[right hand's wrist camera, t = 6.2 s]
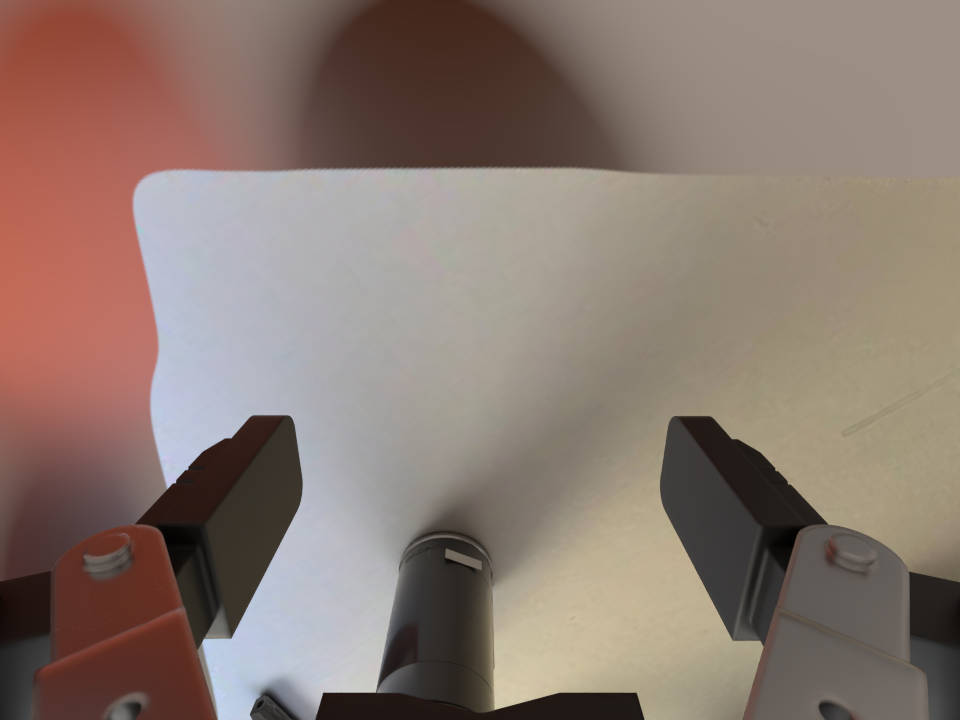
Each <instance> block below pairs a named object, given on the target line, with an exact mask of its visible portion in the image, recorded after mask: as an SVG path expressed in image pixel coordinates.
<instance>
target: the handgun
mask: <svg viewBox="0 0 960 720" xmlns="http://www.w3.org/2000/svg"><path fill="white" fill-rule="evenodd" d="M250 716H251V718H252V720H292V719H291V718H290V717H289V716H288V715H287V714H286V713H284V712H283V711H282V710H281V709H280V708H279V707H278V706H277V705H276V704H275V703H274V702H273V701H272V700H271V699H270V698H269V697H268V696H266V695H265V696H263V697H260V698H258V699H257V700H256V702H255V704H254V706H253V708H252V711H251V713H250Z"/></svg>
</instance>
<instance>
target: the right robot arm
mask: <svg viewBox="0 0 960 720" xmlns="http://www.w3.org/2000/svg"><path fill="white" fill-rule="evenodd" d="M188 468H189V469H188V470H185V471H184V472H183V473H182V475H181V476H180V477H179V478H178V479H177V480H176V483H173V484H172V485H171V486H170V487H169V488H168V489H167V491H166V492H165V493H164V494H163V495H162V496H161V497H160V498H159V499H158V500H157V501H156V502H155V503H154V504H153V505H152V507H151V508H150V509H149V510H148V511H147V512H146V513H145V514H144V515H143V516H142V517H141V518H140V519H139V520H138V521H137V523H136V524H135V525H126V526H120V527H116V528H112V529H109V530H106V531H103V532H100V533H98V534H95V535H93V536H91V537H89V538H87V539H85V540H83V541H81V542H80V543H78V544H77V545H75V546H74V547H72V548H71V549H70V550H68V551H67V552H66V553H65V554H64V555H63V556H62V557H61V558H60V559H59V560H58V561H57V562H56V564H55V565H54V567H53V569H52V571H49V572H44V573H39V574H34V575H30V576H25V577H20V578H15V579H11V580H6V581H1V582H0V720H217V717H216V713H215V710H214V707H213V703H212V700H211V696H210V693H209V689H208V686H207V683H206V679H205V676H204V672H203V669H202V666H201V662H200V659H199V655H198V652H197V650H198V648H199V647H200V645H201V643H202V641H203V640H204V639H231V638H232V636H233V634H234V632H235V630H236V628H237V626H238V624H239V623H240V621H241V619H242V617H243V615H244V613H245V611H246V609H247V607H248V605H249V603H250V601H251V599H252V597H253V595H254V593H255V591H256V590H257V588H258V586H259V584H260V582H261V580H262V578H263V576H264V574H265V572H266V570H267V568H268V566H269V564H270V562H271V560H272V559H273V557H274V555H275V553H276V551H277V549H278V547H279V545H280V543H281V541H282V539H283V537H284V535H285V533H286V531H287V529H288V527H289V526H290V524H291V522H292V520H293V518H294V516H295V514H296V512H297V510H298V508H299V505H300V502H301V497H302V488H303V482H302V473H301V466H300V459H299V452H298V445H297V439H296V432H295V426H294V422H293V419H292V418H291V417H290V416H288V415H254V416H251V417H250V418H249V419H248V420H247V421H246V422H245V424H244V425H243V426H242V427H241V428H240V429H239V430H238V432H237V433H236V434H235V435H234V436H233V437H232V438H225V439H224V440H222V441H220V442H218V443H217V444H215V445H213V446H212V447H210V448H208V449H207V450H205V451H203V452H202V453H201V454H200V455H199V456H198V457H197V459H196V460H195V461H194V462H193V463H192V464H191V465H190V466H189V467H188ZM660 493H661V499H662V504H663V507H664V509H665V511H666V513H667V515H668V517H669V519H670V521H671V523H672V525H673V527H674V529H675V531H676V533H677V534H678V536H679V538H680V540H681V542H682V544H683V546H684V548H685V550H686V552H687V554H688V556H689V557H690V559H691V561H692V563H693V565H694V567H695V569H696V571H697V573H698V575H699V577H700V579H701V580H702V582H703V584H704V586H705V588H706V590H707V592H708V594H709V596H710V598H711V600H712V602H713V603H714V605H715V607H716V609H717V611H718V613H719V615H720V617H721V619H722V621H723V623H724V625H725V626H726V628H727V630H728V632H729V634H730V636H731V638H732V640H733V641H761V643H762V644H763V646H764V648H763V652H762V655H761V659H760V662H759V665H758V669H757V672H756V676H755V679H754V683H753V686H752V689H751V693H750V696H749V700H748V703H747V707H746V710H745V713H744V717H743V720H960V582H955V581H950V580H946V579H941V578H936V577H931V576H927V575H922V574H917V573H912V572H909V571H908V569H907V567H906V565H905V564H904V562H903V561H902V560H901V559H900V558H899V557H898V556H897V555H896V554H895V553H894V552H893V551H892V550H890V549H889V548H888V547H886V546H885V545H883V544H882V543H880V542H879V541H877V540H875V539H873V538H871V537H869V536H867V535H865V534H862V533H860V532H857V531H854V530H851V529H848V528H844V527H840V526H835V525H828V523H827V522H826V521H825V520H824V519H823V518H822V517H821V516H820V515H819V514H818V513H817V512H816V511H815V510H814V509H813V508H812V507H811V505H810V504H809V503H808V502H807V501H806V500H805V499H804V498H803V497H802V496H801V495H800V494H799V493H798V492H797V491H796V490H795V489H794V488H793V486H792V485H788V481H787V480H786V479H785V478H784V477H783V476H782V475H781V474H780V473H779V472H778V471H775V467H774V466H773V465H772V464H771V463H770V462H769V461H768V460H767V459H766V458H765V457H764V456H763V455H762V454H761V453H760V452H759V451H757V450H755V449H753V448H752V447H750V446H748V445H747V444H745V443H743V442H742V441H740V440H738V439H731V438H730V437H729V435H728V434H727V433H726V432H725V431H724V430H723V429H722V428H721V426H720V425H719V424H718V423H717V422H716V421H715V420H714V419H713V418H712V417H710V416H674V417H672V419H671V420H670V422H669V426H668V431H667V438H666V445H665V452H664V458H663V465H662V472H661V479H660ZM491 580H492V564H491V560H490V558H489V555H488V554H487V552H486V551H485V549H484V548H483V547H482V546H481V545H480V544H479V543H477V542H476V541H474V540H473V539H471V538H469V537H467V536H464V535H461V534H457V533H451V532H439V533H433V534H429V535H426V536H423V537H421V538H419V539H417V540H416V541H414V542H413V543H412V544H411V545H410V546H409V547H408V548H407V549H406V550H405V552H404V554H403V556H402V558H401V562H400V567H399V577H398V583H397V588H396V592H395V597H394V602H393V608H392V613H391V618H390V623H389V628H388V633H387V638H386V644H385V649H384V654H383V659H382V664H381V669H380V675H379V680H378V685H377V690H376V693H323V696H322V699H321V703H320V706H319V710H318V713H317V716H316V720H644V716H643V713H642V710H641V706H640V703H639V699H638V696H637V693H557V694H553V695H549V696H546V697H542V698H538V699H534V700H531V701H527V702H523V703H519V704H516V705H512V706H508V707H504V708H501V709H497V710H495V702H494V634H493V598H492V587H491Z"/></svg>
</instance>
